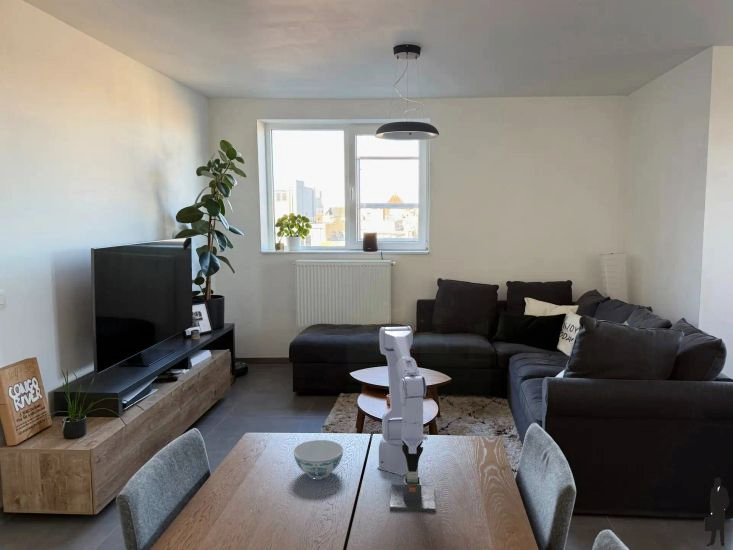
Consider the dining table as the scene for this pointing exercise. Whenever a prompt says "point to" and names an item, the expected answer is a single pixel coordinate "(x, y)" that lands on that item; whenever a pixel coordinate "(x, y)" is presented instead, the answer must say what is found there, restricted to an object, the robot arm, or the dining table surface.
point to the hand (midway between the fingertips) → (412, 468)
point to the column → (412, 477)
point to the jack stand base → (412, 497)
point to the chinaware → (318, 457)
